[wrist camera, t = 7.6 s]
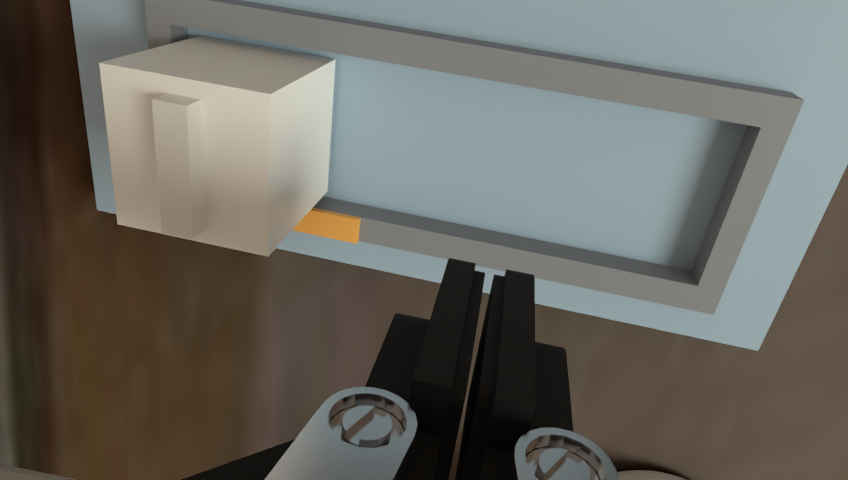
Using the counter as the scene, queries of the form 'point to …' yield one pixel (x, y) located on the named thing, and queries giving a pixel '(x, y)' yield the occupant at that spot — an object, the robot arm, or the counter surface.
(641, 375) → the counter surface
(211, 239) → the white block with handle
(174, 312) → the counter surface
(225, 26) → the switch bank
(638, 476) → the pill bottle
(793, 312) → the counter surface
